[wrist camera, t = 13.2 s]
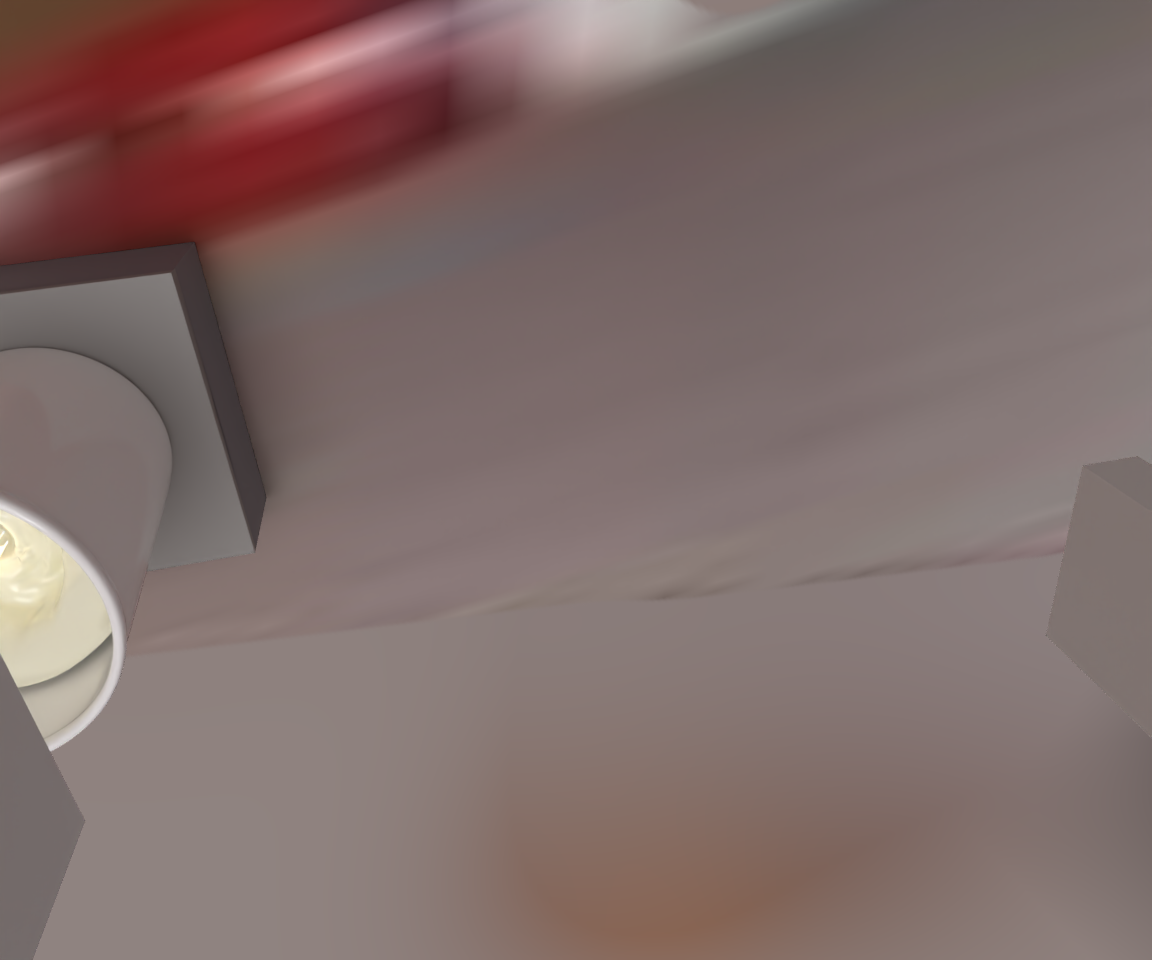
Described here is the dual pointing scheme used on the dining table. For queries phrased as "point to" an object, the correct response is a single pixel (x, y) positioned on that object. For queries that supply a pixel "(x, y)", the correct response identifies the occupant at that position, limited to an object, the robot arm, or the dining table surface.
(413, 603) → the dining table surface
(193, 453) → the block
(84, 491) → the candle holder
